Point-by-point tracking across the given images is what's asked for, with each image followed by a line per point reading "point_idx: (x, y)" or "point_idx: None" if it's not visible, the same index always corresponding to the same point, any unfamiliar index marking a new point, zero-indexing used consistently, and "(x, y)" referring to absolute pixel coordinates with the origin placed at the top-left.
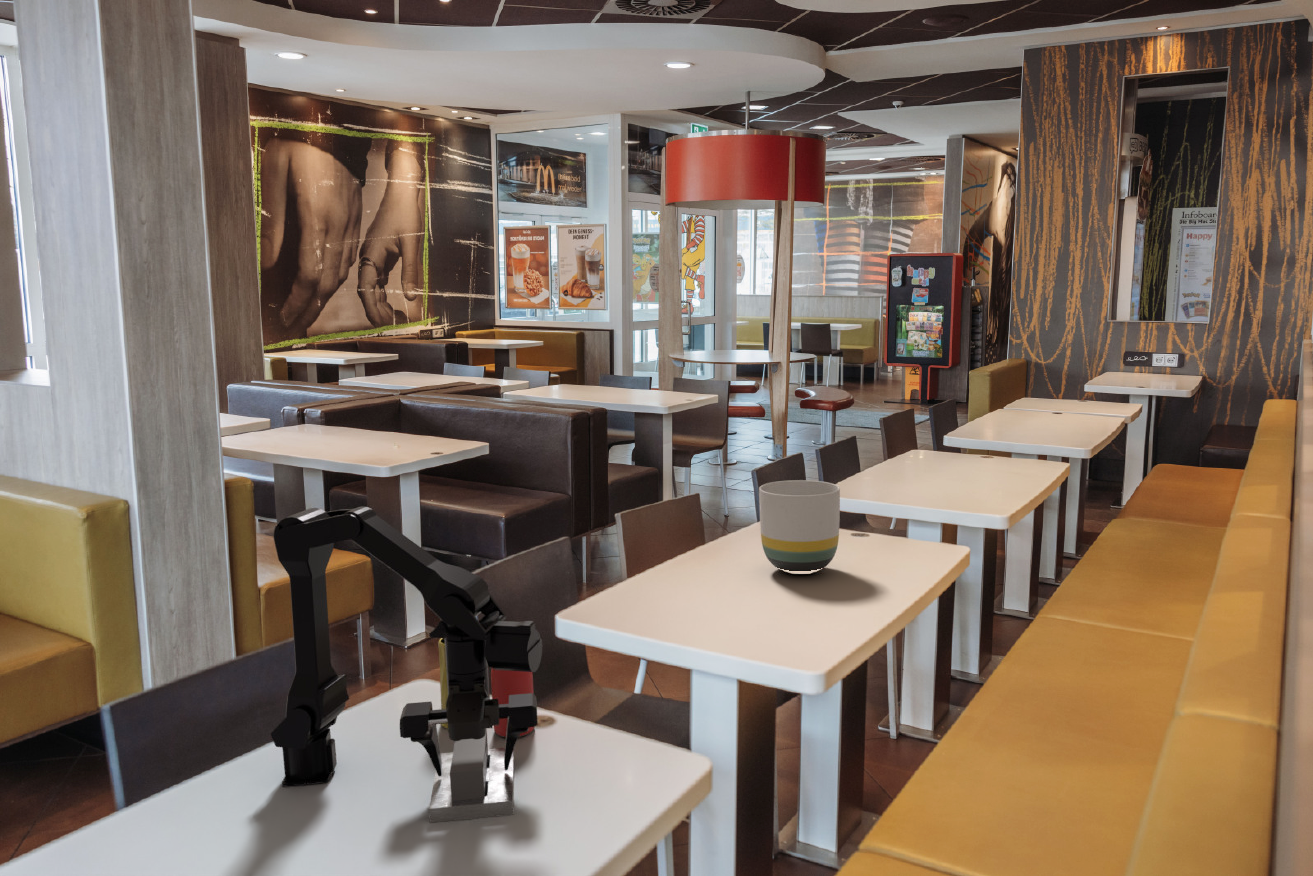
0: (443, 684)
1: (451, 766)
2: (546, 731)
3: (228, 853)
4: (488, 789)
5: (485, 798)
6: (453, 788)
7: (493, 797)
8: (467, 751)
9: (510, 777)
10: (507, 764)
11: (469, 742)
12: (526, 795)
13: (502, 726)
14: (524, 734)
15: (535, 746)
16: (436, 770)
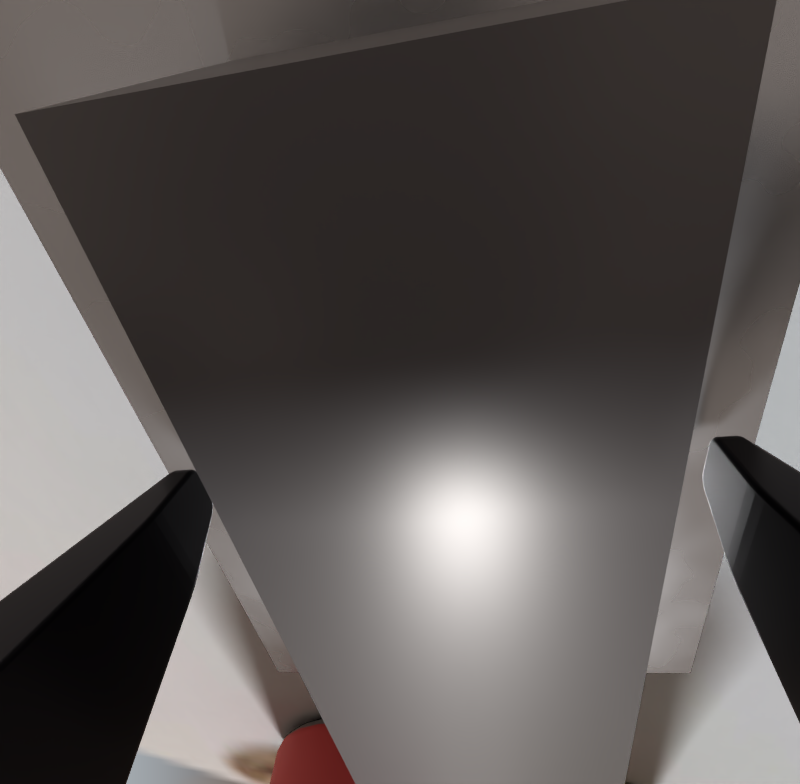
0: None
1: (705, 311)
2: (236, 730)
3: None
4: None
5: (213, 42)
6: None
7: (135, 63)
8: (474, 639)
9: (149, 408)
10: (145, 501)
11: (480, 743)
12: (69, 293)
13: None
14: (303, 728)
15: (238, 669)
16: (791, 468)
